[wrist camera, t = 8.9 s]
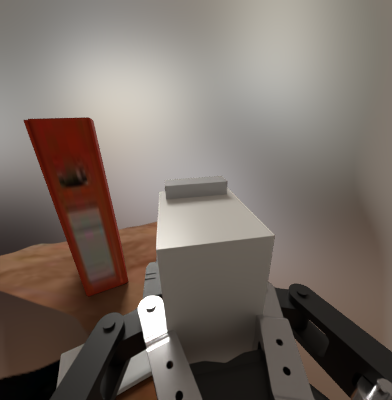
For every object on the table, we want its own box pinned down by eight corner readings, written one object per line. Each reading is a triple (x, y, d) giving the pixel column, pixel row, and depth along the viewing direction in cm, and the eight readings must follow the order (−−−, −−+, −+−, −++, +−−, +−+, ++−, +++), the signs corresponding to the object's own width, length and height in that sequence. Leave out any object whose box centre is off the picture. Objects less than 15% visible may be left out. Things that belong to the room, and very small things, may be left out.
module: (178, 418, 11) (153, 229, 6) (173, 320, 17) (158, 179, 12) (252, 400, 12) (283, 216, 7) (224, 311, 17) (229, 174, 12)
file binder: (85, 297, 37) (22, 118, 24) (89, 248, 51) (50, 120, 39) (128, 282, 40) (92, 117, 27) (120, 240, 54) (94, 119, 42)
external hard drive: (163, 371, 26) (54, 435, 21) (148, 320, 33) (64, 358, 28) (161, 364, 25) (50, 428, 20) (147, 313, 32) (60, 351, 27)
